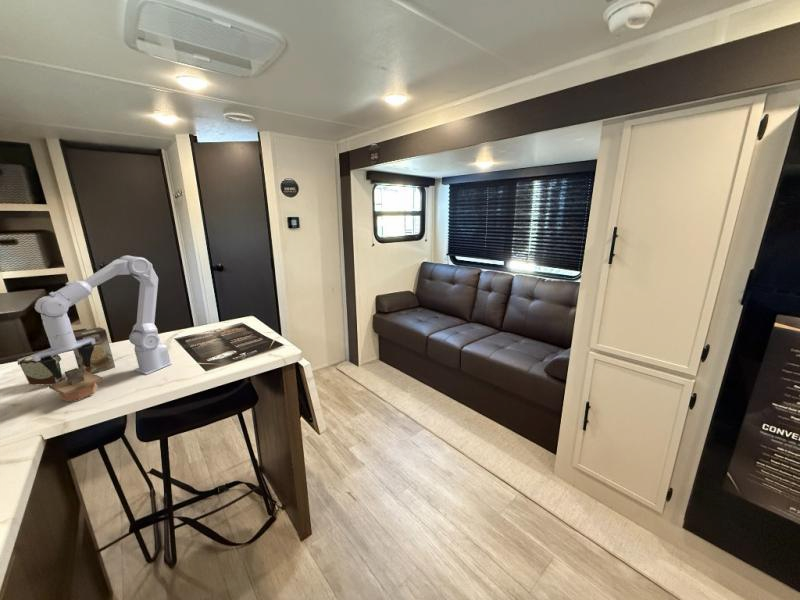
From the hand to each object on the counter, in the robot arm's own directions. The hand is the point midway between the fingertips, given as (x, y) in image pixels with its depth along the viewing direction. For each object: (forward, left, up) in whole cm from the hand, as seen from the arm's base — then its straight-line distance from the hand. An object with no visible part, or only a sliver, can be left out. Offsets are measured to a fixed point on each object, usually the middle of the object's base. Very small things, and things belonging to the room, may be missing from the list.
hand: (72, 371), depth 104 cm
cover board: (0, 0, -4) cm, 5 cm away
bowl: (0, 0, -9) cm, 9 cm away
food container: (-1, -22, -9) cm, 24 cm away
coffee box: (-12, -16, -9) cm, 22 cm away
